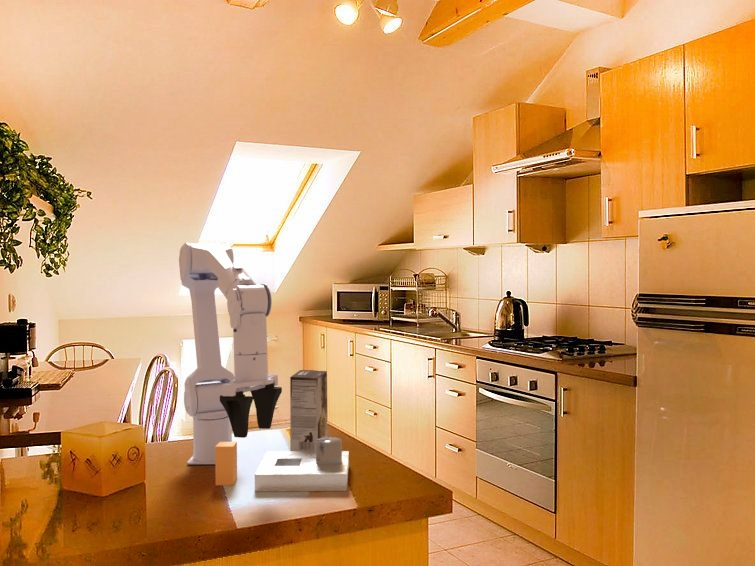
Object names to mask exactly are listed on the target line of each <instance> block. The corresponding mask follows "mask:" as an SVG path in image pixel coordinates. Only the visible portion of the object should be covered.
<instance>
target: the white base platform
mask: <svg viewBox="0 0 755 566" xmlns="http://www.w3.org/2000/svg"><path fill="white" fill-rule="evenodd" d="M342 443H343V440H342V438H339V437H335V436H334V437H332V436H327V437H324V438H319V439H317V440H316V451H289V450H287V451H283V450H282V451H280V450H279V451H273V450H271V451H270V450H268V451H266V453H265V454H264V456H263V459H262V460H261V462H260V464H259V466H258V467H257V470H256V472H255V474H254V492H348V491H347V490H348V482H349V481H348V479H349V467H350V462H349V461H350V459H349V458H350V457H349V456H350V453H349V452H350V451H348V450H343V444H342Z"/></svg>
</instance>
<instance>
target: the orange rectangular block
mask: <svg viewBox="0 0 755 566" xmlns="http://www.w3.org/2000/svg"><path fill="white" fill-rule="evenodd" d="M214 465H215V470H214V471H215V486H234V485H235V484H236V482H237V480H238V442H237V441H232V442H219V443H218V444H217V445H216V446H215V464H214Z"/></svg>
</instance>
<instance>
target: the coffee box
mask: <svg viewBox="0 0 755 566" xmlns="http://www.w3.org/2000/svg"><path fill="white" fill-rule="evenodd" d="M327 372H328V371H327V370H313V369H300V370H298V371H297V372H296V373H294V374H293V375H291V376H290V377H289V381H290V382H289V383H290V384H289V385H290V386H289V387H290V389H289V390H290V391H289V394H290V399H289V400H290V401H289V404H290V409H289V410H290V414H289V415H290V418H289V419H290V423H289V425H290V426H289V427H290V428H289V430H290V432H289V433H290V435H289V436H290V439H289V440H290V441H289V443H290V446H289V447H290V448H289V449H290V451H316V440H317V439H319V438H324V437H328V377H327V376H328V373H327Z"/></svg>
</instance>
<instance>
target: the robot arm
mask: <svg viewBox="0 0 755 566" xmlns="http://www.w3.org/2000/svg"><path fill="white" fill-rule="evenodd" d="M178 264H179V265H178V266H179V276H180V281H181V285H182V286H183V287H185V288H186V289H188V290H189V296H190V299H191V300H190V301H191V309H192V323H193V332H194V335H193V336H194V345H195V357H196V366H197V368H196V369H195V370H193V372H192V373H190V374H189V375H188V376H187V377H186V379H185V381H184V393H183V403H184V404H183V405H184V410H185V412H186V414H187V415H189V416H190V417H192V441H193V444H192V445H193V447H192V448H193V449H192V450H193V454H192V455H191V457H190V459H188V460H187V462H186V464H187V465H215V446H216V445H217V444H218V443H219V442H233V440H232V438H233V437H234V438H240V439H242V438H244V439H245V438H247V437H248V434H249V433H248V432H249V421H250V420H249V419H250V411H251V408H252V404H253V402H254V407H255V413H256V421H257V426H258V427H257V428H258V429H264V430H265V429H267V430H269V429H271V428H272V422H273V418H274V413H275V410H276V406H277V403H278V401H279V399H280V397H281V394H282V392H283V389H282V387H281V386H278V385H279V381H278V380H279V379H278V377H279V376H278V374H269V367H268V366H269V365H268V363H269V362H268V359H269V357H268V334H267V333H268V332H267V331H268V330H267V317H269V315H270V314H271V310H272V304H273V303H272V302H273V299H272V294H271V290H270V288H269V287H268V284H266V283H259V284H257V282H255V281H254V279H252V277H251V276H250V275H249V274H248V273H247V272H246V271H245V270H244V268H243V267H242V266H241V265H234V251H233V249H232V247H231V245H230V243H223V244H222V243H189V242H184V243H183V244H182V245H181V247H180V249H179V257H178ZM216 289H219V290H220V292H221V293H222V294H223V296H224V297H225V299H226V300H227V302H226V304H227V305H226V307H227V312H228V315H229V324H230V328H231V329H232V330H233V331H232V336H233V337H232V338H233V361H234V362H233V368H234V369H233V370H234V373H233V372H232V371H230V370H228V369H227V368H226V367H224V366H223V365H222V357H221V348H220V345H221V344H220V337H219V328H218V317H217V315H218V314H217V307H216V296H215V291H216ZM247 392H250V393H251V395H247V396H246V394H245V393H247ZM232 433H233V435H232Z"/></svg>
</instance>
